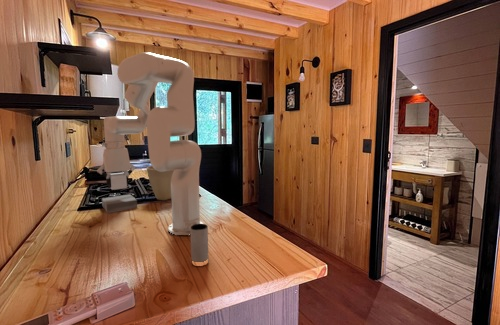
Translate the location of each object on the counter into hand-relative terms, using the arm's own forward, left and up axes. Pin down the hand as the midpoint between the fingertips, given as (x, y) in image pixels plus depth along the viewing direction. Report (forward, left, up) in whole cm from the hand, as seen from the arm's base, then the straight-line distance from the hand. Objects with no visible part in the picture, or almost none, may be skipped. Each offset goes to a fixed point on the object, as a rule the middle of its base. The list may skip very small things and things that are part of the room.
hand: (118, 185), depth 120 cm
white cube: (0, 0, -1) cm, 1 cm away
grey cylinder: (-66, -6, -10) cm, 67 cm away
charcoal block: (0, 0, -10) cm, 10 cm away
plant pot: (+2, -21, -10) cm, 23 cm away
